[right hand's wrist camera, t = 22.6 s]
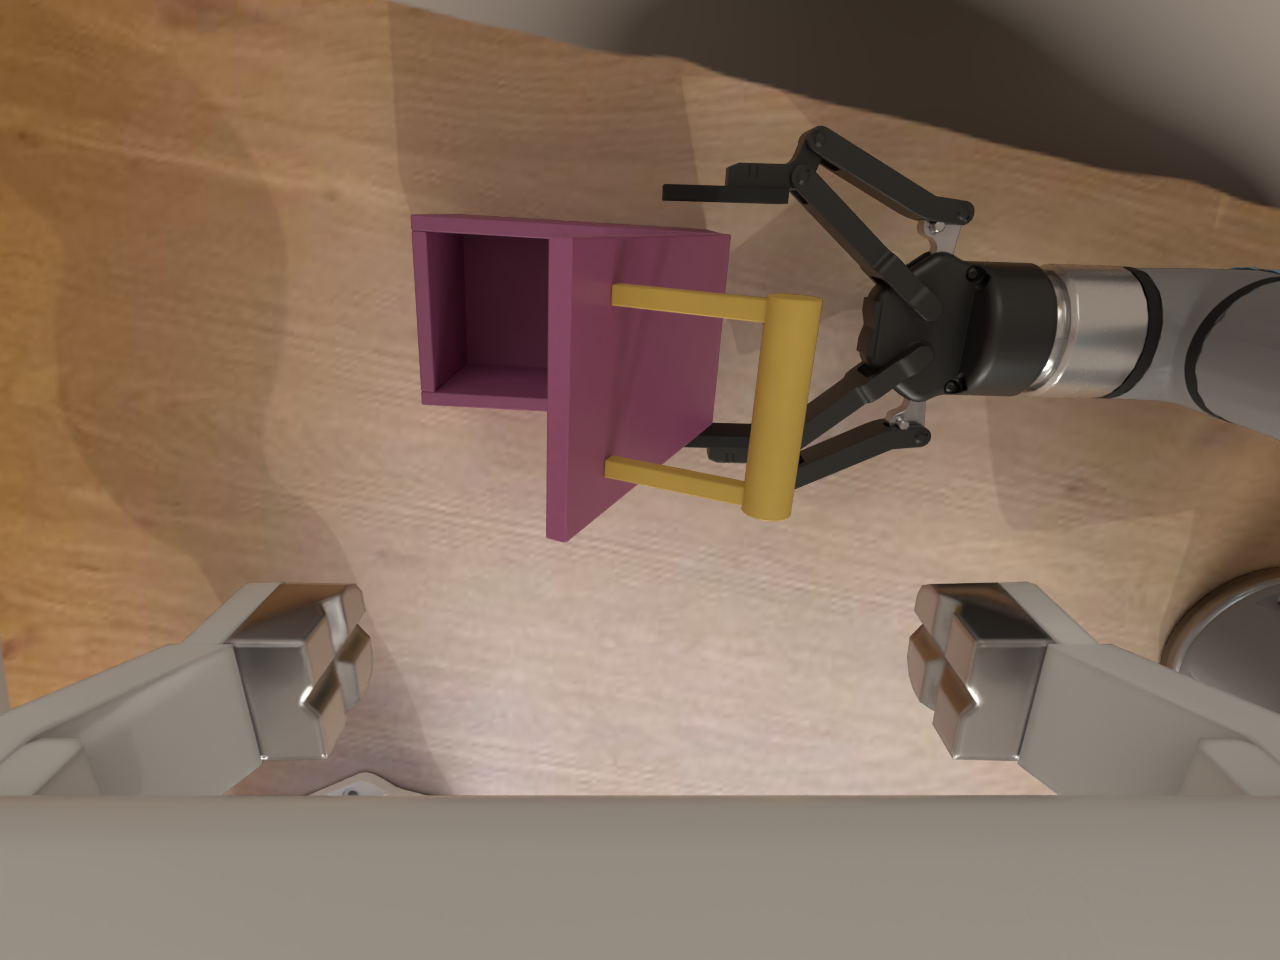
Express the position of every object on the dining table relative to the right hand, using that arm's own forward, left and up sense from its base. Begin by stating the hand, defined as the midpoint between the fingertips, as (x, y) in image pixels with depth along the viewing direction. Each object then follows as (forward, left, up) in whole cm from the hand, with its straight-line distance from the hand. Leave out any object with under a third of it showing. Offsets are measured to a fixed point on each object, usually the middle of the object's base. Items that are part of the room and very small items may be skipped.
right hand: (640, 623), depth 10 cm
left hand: (+1, -1, -32) cm, 32 cm away
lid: (0, 0, -21) cm, 21 cm away
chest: (-4, +1, -38) cm, 38 cm away
